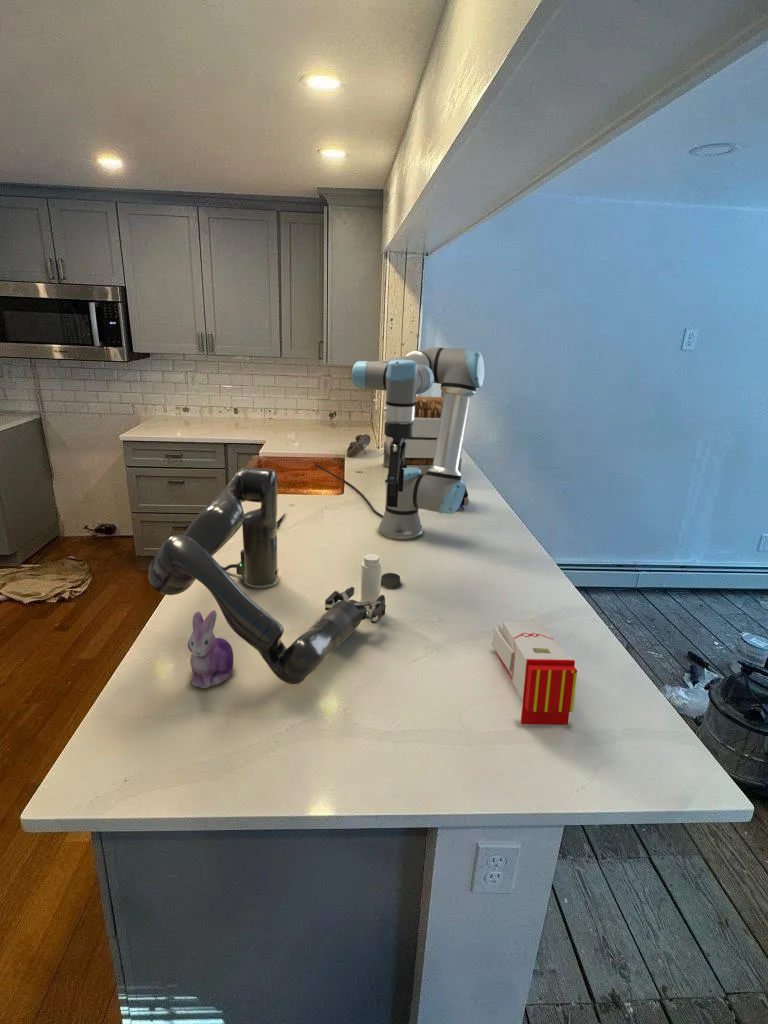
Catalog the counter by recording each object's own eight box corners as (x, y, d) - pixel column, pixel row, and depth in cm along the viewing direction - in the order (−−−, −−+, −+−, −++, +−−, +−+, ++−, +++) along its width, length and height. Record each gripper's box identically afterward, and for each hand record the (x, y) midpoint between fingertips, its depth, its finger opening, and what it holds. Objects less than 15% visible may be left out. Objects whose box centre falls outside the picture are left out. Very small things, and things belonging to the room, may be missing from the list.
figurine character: (468, 514, 225) (463, 498, 239) (470, 497, 222) (465, 482, 235) (451, 514, 225) (447, 498, 238) (453, 497, 222) (449, 481, 235)
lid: (377, 585, 162) (378, 578, 161) (385, 578, 167) (385, 571, 166) (395, 589, 160) (396, 583, 159) (402, 582, 165) (403, 575, 164)
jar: (383, 610, 149) (385, 557, 144) (370, 617, 145) (372, 563, 140) (369, 603, 152) (371, 551, 147) (356, 610, 148) (357, 556, 143)
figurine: (194, 695, 113) (188, 630, 108) (185, 667, 122) (179, 606, 117) (241, 683, 118) (238, 620, 112) (229, 657, 126) (226, 597, 121)
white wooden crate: (382, 463, 289) (386, 382, 275) (445, 464, 293) (451, 384, 279) (390, 482, 257) (394, 392, 243) (460, 483, 261) (468, 394, 247)
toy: (538, 606, 134) (586, 666, 105) (533, 659, 137) (578, 731, 108) (487, 605, 134) (521, 665, 105) (483, 658, 137) (515, 730, 107)
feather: (292, 507, 224) (294, 503, 223) (275, 531, 197) (278, 527, 197) (288, 505, 224) (291, 501, 223) (271, 528, 197) (273, 524, 197)
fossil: (346, 440, 316) (367, 425, 311) (357, 453, 319) (378, 438, 314) (340, 453, 296) (362, 438, 291) (351, 468, 299) (374, 452, 294)
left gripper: (310, 629, 135) (343, 600, 149) (364, 646, 129) (392, 614, 143) (310, 601, 132) (343, 574, 146) (365, 617, 127) (394, 587, 141)
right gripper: (391, 412, 160) (387, 484, 167) (377, 429, 136) (374, 512, 144) (417, 414, 159) (412, 486, 166) (408, 431, 136) (404, 514, 143)
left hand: (368, 594), depth 145 cm, fingers open, 8 cm apart
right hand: (395, 498), depth 155 cm, fingers open, 13 cm apart
